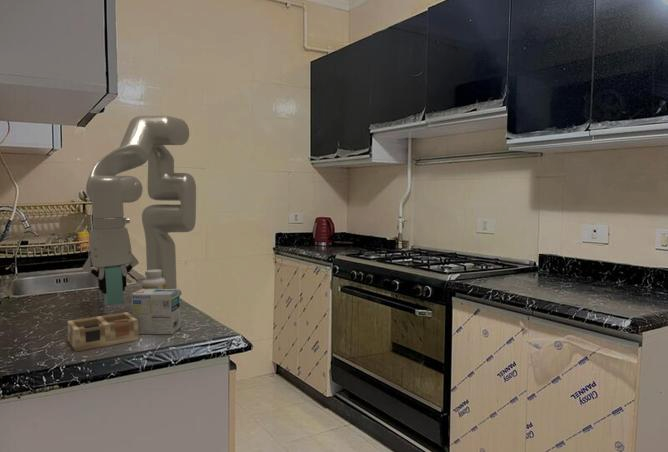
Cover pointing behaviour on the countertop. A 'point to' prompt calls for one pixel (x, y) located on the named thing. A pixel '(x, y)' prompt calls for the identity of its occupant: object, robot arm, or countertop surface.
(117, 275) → the teal tall block
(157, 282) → the supplement bottle
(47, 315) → the countertop surface
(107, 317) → the socket block
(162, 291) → the light bulb box
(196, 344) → the countertop surface
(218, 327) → the countertop surface
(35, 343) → the countertop surface
